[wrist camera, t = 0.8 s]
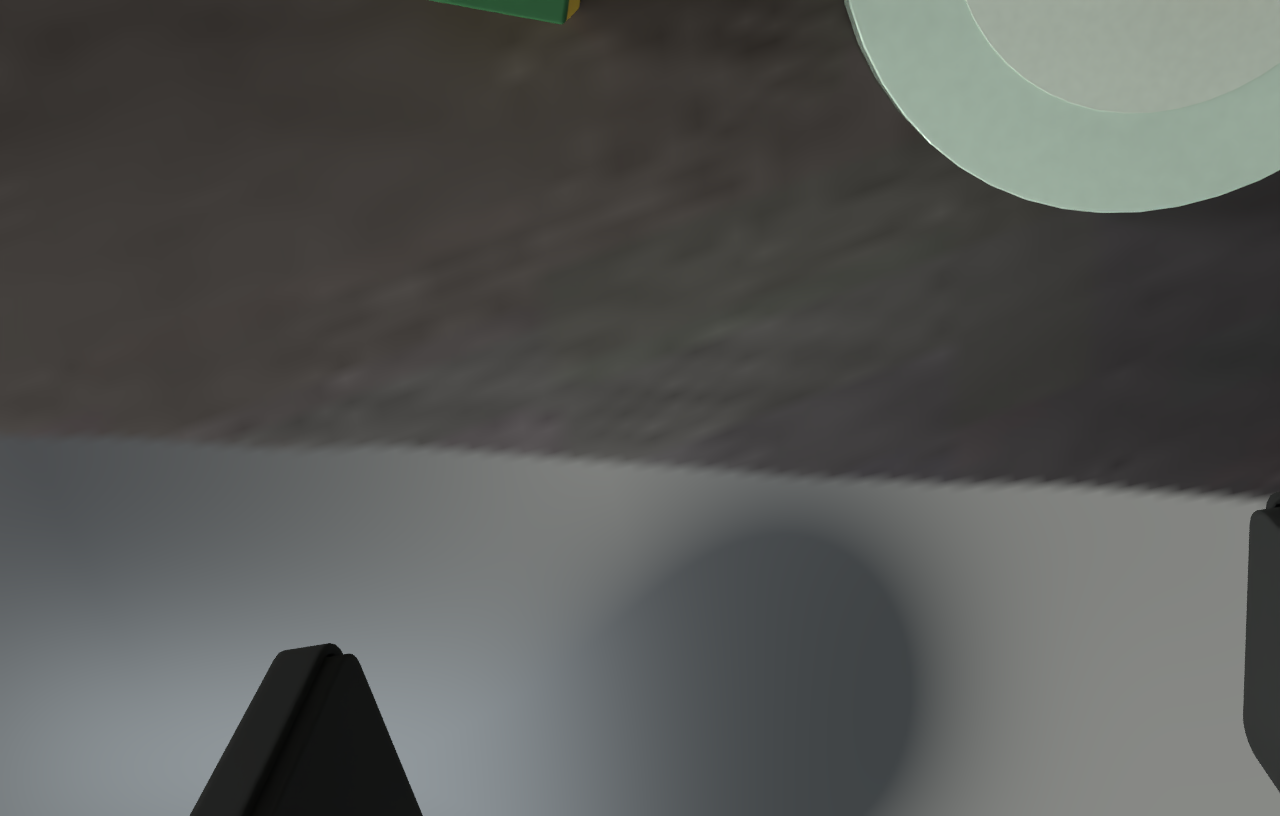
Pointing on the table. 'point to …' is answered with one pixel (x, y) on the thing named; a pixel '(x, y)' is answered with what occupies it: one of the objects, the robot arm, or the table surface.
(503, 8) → the sponge
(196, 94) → the table surface
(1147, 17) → the plate
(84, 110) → the table surface
